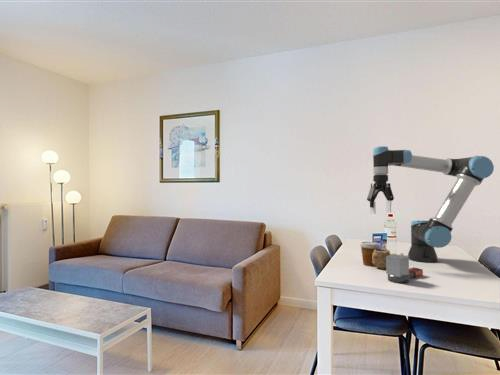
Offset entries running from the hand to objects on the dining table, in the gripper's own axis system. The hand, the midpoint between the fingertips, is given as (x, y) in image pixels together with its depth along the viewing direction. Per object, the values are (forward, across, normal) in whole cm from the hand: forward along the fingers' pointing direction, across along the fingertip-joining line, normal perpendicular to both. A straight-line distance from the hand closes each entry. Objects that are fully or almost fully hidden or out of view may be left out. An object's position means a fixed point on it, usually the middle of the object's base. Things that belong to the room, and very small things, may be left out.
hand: (380, 212), depth 167 cm
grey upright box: (+26, +19, +22) cm, 39 cm away
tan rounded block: (+29, +5, +8) cm, 30 cm away
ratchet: (+29, +12, +22) cm, 38 cm away
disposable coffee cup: (+29, +6, -3) cm, 30 cm away
